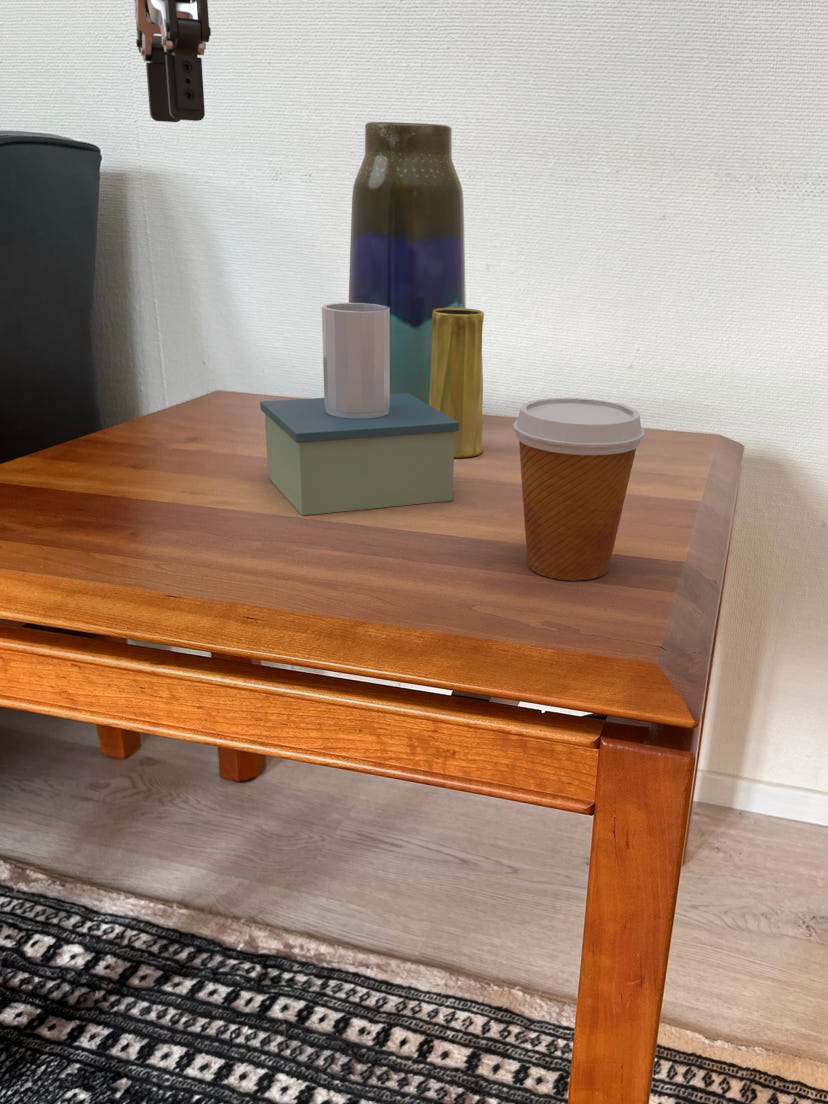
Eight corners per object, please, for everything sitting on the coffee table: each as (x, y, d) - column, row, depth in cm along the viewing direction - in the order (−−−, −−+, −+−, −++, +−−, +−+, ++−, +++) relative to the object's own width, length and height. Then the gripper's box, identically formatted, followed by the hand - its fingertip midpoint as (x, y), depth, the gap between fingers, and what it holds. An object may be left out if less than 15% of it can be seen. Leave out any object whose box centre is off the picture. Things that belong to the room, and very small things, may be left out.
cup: (336, 420, 88) (333, 312, 84) (317, 406, 93) (314, 303, 89) (399, 416, 90) (399, 311, 87) (377, 402, 95) (377, 302, 91)
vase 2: (438, 460, 105) (441, 316, 99) (417, 445, 110) (418, 307, 104) (492, 456, 107) (498, 314, 101) (469, 441, 112) (473, 306, 106)
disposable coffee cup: (627, 595, 74) (644, 430, 69) (497, 582, 75) (504, 420, 70) (632, 551, 82) (648, 401, 77) (515, 540, 84) (523, 392, 78)
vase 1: (437, 434, 115) (443, 122, 101) (327, 419, 119) (319, 119, 106) (481, 410, 126) (491, 128, 113) (380, 397, 131) (378, 125, 117)
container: (299, 517, 87) (296, 433, 84) (264, 477, 97) (260, 401, 94) (457, 501, 92) (459, 422, 89) (407, 465, 103) (408, 393, 100)
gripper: (83, -149, 69) (108, 119, 76) (107, -208, 57) (134, 115, 64) (196, -131, 72) (210, 125, 79) (241, -184, 60) (253, 123, 67)
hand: (176, 120), depth 72 cm, fingers open, 8 cm apart
